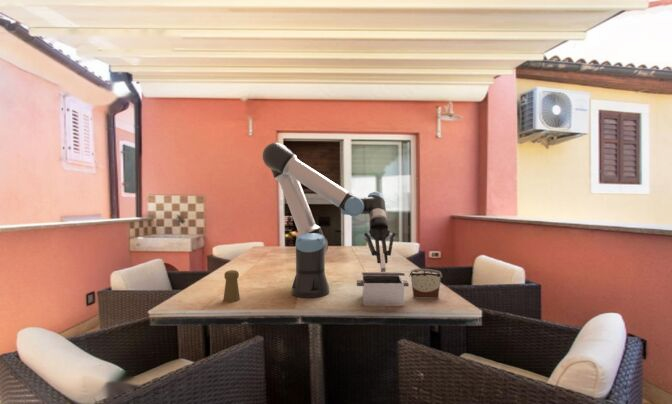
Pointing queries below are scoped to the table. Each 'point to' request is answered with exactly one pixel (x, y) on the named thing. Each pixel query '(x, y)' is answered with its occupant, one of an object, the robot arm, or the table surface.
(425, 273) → the food container
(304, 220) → the robot arm
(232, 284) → the cork
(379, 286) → the rectangular cooking pot
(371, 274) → the pot lid
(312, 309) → the table surface
